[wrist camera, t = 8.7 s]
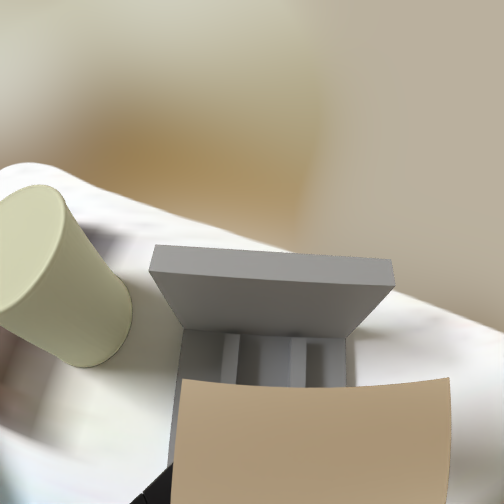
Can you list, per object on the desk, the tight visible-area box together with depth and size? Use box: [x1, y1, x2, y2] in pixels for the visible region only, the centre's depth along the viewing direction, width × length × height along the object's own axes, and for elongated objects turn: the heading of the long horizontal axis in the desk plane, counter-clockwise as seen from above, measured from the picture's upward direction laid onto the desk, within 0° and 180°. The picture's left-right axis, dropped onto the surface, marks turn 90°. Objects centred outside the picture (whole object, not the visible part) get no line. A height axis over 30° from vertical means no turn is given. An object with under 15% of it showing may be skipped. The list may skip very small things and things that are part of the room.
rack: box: [149, 245, 395, 467], centre depth 14 cm, size 18×12×10 cm
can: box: [0, 185, 132, 367], centre depth 18 cm, size 9×9×12 cm
